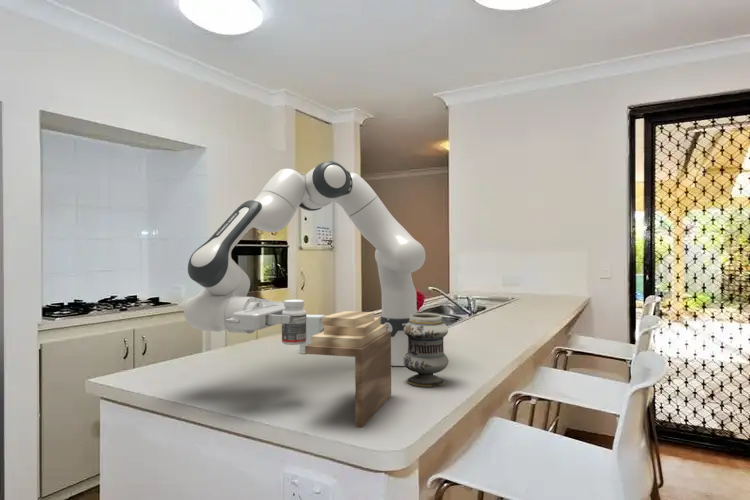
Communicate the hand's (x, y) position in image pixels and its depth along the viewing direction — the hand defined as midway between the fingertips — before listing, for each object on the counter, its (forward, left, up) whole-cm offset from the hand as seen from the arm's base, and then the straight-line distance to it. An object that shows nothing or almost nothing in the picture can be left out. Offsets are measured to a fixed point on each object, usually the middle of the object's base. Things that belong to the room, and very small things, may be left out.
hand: (297, 317), depth 112 cm
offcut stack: (-5, +12, -4) cm, 14 cm away
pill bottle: (0, -1, -6) cm, 6 cm away
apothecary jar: (-33, +13, -20) cm, 41 cm away
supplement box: (-39, -39, -20) cm, 59 cm away
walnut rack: (-5, +12, -20) cm, 24 cm away
